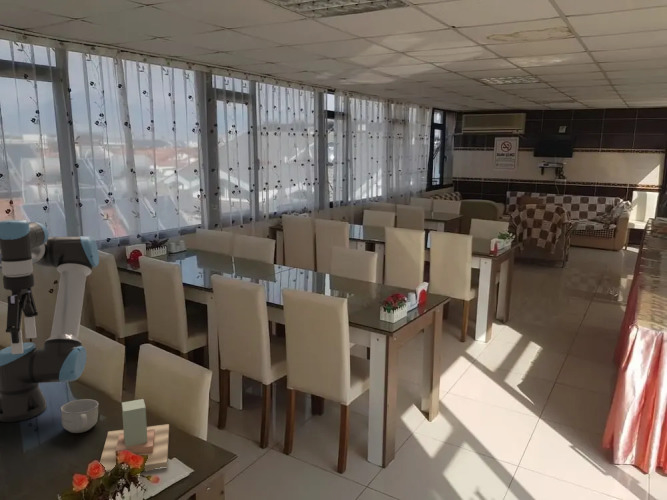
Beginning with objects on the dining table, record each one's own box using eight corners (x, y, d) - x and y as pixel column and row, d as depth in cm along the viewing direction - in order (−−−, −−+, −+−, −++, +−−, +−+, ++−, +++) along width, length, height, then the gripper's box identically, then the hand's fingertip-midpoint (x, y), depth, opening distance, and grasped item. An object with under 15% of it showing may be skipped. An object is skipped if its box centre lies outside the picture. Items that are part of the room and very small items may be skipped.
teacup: (64, 423, 169) (62, 400, 167) (100, 417, 173) (98, 395, 172) (60, 444, 156) (58, 420, 155) (99, 437, 160) (97, 413, 159)
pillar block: (123, 437, 153) (121, 402, 151) (145, 432, 156) (143, 398, 154) (125, 447, 148) (123, 411, 146) (147, 442, 150) (145, 407, 148)
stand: (108, 437, 160) (107, 425, 160) (169, 429, 165) (168, 418, 165) (97, 478, 140) (96, 465, 139) (167, 468, 144) (166, 455, 144)
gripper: (16, 266, 158) (22, 332, 161) (-13, 284, 134) (-5, 362, 137) (43, 265, 160) (49, 330, 163) (19, 283, 136) (27, 359, 140)
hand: (24, 345), depth 150 cm, fingers open, 13 cm apart
